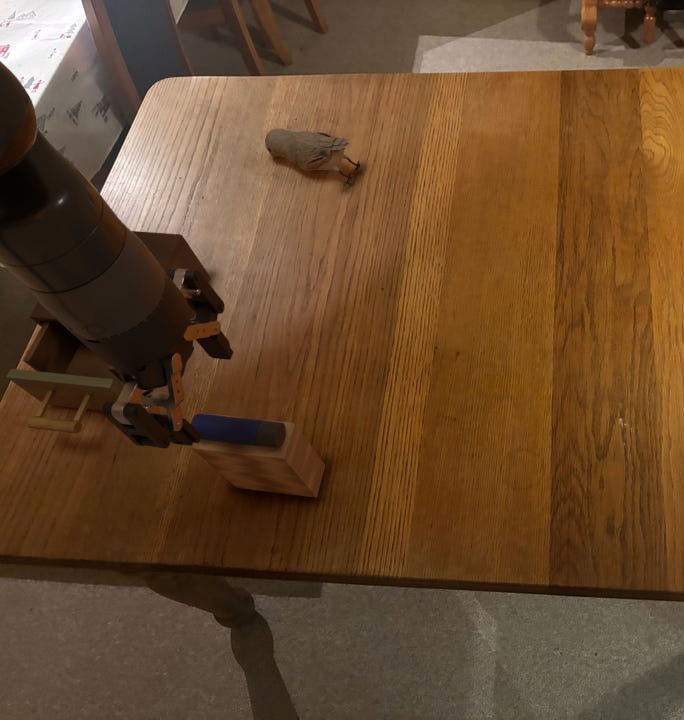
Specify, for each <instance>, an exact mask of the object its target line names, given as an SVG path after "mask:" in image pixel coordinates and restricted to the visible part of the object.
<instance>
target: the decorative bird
mask: <svg viewBox="0 0 684 720" xmlns="http://www.w3.org/2000/svg"><path fill="white" fill-rule="evenodd" d="M349 140H350V138H345V137H339V136H333V135H331V134H329V133H326V132H321V131H319V132H318V131H317V132H316V131H314V132H312V131H310V130H302V131H294V130H293V131H292V130H289V129H285V128H279V127H278V128H277V127H276V128H273V129H270V130H269V131H268V132H267V133H266V134H265V138H264V145H265V148H266V150H267V152H268V153H269V155H270V156H272V157H273V158H277V157H283V158H286V159H287V160H288V161H289V162H291V163H292V164H294V165H295V166H297V168H299V169H301V170H303V171H307V172H309V171H315V170H318V171H335V172H337V173H339V174H340V175H341V176H343V177H345V178H346V179H347V180H346V181H345V184H344V185H345V187H347V184H348V185H350V181H351V180H353V177H352V175H351V174H352V172H349V174H348V175H347V174H344V173H343V171H341V170H340V168H338V167H339V166H340V165H341V164H342V161H343V159H345V160H347V161H348V162H349V163H350V164H351V165H354V166H356V167H355V168H354V171H353V175H354V176H355V175H356V173H358V172H359V171H358V170H359V169H360V168H361V163H360V160H358V161H357V163H355V162H354V161H353V160H351V159H350V158H349V156H347V154H345V150H346V149H347V146H349V145H350V142H349Z"/></svg>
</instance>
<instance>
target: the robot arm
mask: <svg viewBox="0 0 684 720" xmlns="http://www.w3.org/2000/svg"><path fill="white" fill-rule="evenodd" d="M132 231H133V230H131V229H129V228H128V226H127V225H125V223H124V222H123V221H122V220H121V219H120V218H119V216H118V215H117V214H116V213H115V211H114V210H113V209H112V207H111V206H110V205H109V203H108V202H107V201H106V199H104V197H103V196H102V195H101V193H100V191H98V189H97V188H96V187H95V186H94V184H92V182H91V181H90V180H89V179H88V177H87V176H85V174H83V173H82V171H80V169H78V168H77V167H76V166H75V165H74V164H73V163H72V162H71V161H70V160H69V159H68V158H67V157H66V156H64V155H63V154H62V153H61V152H59V150H58V149H56V148H55V146H54V145H53V144H52V143H51V142H50V141H49V140H48V139H47V138H46V136H45V135H44V134H43V133H42V132H41V130H40V129H39V127H38V117H37V112H36V108H35V106H34V103H33V101H32V98H31V96H30V95H29V93H28V91H27V90H26V88H25V87H24V85H23V83H22V82H21V81H20V80H19V78H18V77H17V76H16V75H15V74H14V73H13V71H12V70H11V69H9V68H8V67H7V66H6V64H4V62H2V60H0V264H1V265H2V266H3V267H4V268H5V269H7V270H8V272H10V273H11V274H12V275H14V277H16V279H18V281H20V282H21V283H22V284H23V285H24V286H25V287H26V288H27V289H28V291H30V293H31V294H32V295H33V297H34V298H35V299H36V301H37V302H39V303H40V304H41V305H42V306H43V307H44V308H45V309H46V310H47V311H48V312H49V313H50V314H51V315H52V316H53V317H55V318H56V319H57V320H58V321H59V322H60V323H61V324H62V325H63V326H64V327H66V328H67V329H68V330H69V331H70V332H71V333H72V334H73V335H74V336H76V337H77V338H78V339H79V340H80V341H81V342H82V343H83V344H85V345H86V346H87V347H88V348H89V349H90V350H91V351H92V352H93V353H94V354H96V355H97V356H98V357H99V358H100V359H101V360H103V361H104V362H106V363H107V364H109V365H110V366H112V367H114V368H115V369H117V370H118V372H119V373H120V376H121V379H122V382H123V383H124V385H125V386H124V388H123V390H122V392H121V393H120V395H119V397H118V399H117V401H106V402H105V403H104V405H103V408H102V411H101V412H102V415H103V417H105V418H106V419H107V420H108V421H109V422H111V423H112V424H113V425H114V426H115V428H117V429H118V430H119V431H120V432H121V433H123V434H124V435H125V436H126V437H127V438H128V439H129V440H130V441H131V442H132V443H133V444H134V445H136V446H138V447H139V446H140V447H144V446H145V447H154V448H159V449H165V450H166V449H169V447H170V446H171V443H172V444H173V445H179V446H188V447H189V446H190V447H192V446H193V443H199V442H200V439H201V437H202V434H201V433H200V432H199V431H198V430H197V429H195V428H194V427H193V426H192V425H191V422H189V421H188V419H186V418H184V417H183V415H182V414H183V413H182V409H181V408H182V407H181V403H182V402H183V401H185V392H184V385H183V379H182V378H183V376H184V374H185V369H186V366H187V363H188V361H189V360H190V358H191V357H192V354H193V352H194V350H195V347H194V341H196V342H197V343H198V345H199V346H200V347H201V348H202V349H203V351H204V352H205V353H206V354H207V355H208V357H210V358H212V359H215V360H216V359H218V360H227V361H230V360H232V357H233V354H234V350H233V349H232V348H231V344H230V340H228V338H227V336H226V335H225V334H224V332H223V331H222V324H221V322H220V321H219V320H218V317H219V315H222V314H223V313H224V311H225V308H226V307H225V302H224V301H223V299H222V298H221V296H220V295H219V294H218V293H217V291H215V289H214V288H213V286H212V285H211V284H210V283H209V281H208V282H207V280H206V279H205V278H204V277H203V275H202V274H201V273H200V272H199V271H198V270H189V269H176V268H169V269H168V270H167V271H166V272H165V271H164V269H163V268H162V267H161V265H160V264H159V263H158V261H157V260H156V259H155V258H154V256H153V255H152V254H151V252H150V251H149V250H148V249H147V247H146V246H145V245H144V244H143V242H142V241H141V240H140V239H139V238H138V237H137V236H136V235H135V234H134V233H133V232H132ZM189 306H190V307H191V308H192V309H193V310H194V311H195V317H194V318H192V319H190V309H189ZM163 387H166V388H167V391H159V390H155V389H159V388H163ZM160 407H162V408H164V409H165V411H166V414H163V413H161V412H160Z"/></svg>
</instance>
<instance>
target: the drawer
mask: <svg viewBox="0 0 684 720" xmlns="http://www.w3.org/2000/svg"><path fill="white" fill-rule="evenodd" d="M22 361H23V362H24V363H25V364H27V365H28V366H29V367H30V368H32V369H33V370H27V369H18V368H10V369H9V370H8V371H9V372H8V373H7V374H6V379H8V380H9V381H10V382H12V383H13V384H15V385H16V386H18V388H19V387H20V388H21V389H22V390H24V391H25V392H26V393H28V394H29V395H30V396H32V397H33V398H35V399H36V400H38V401H39V402H40V406H39V407H38V410H37V411H36V413H35V416H34V415H33V416H30V417H29V418H28V420H27V422H26V425H27V427H28V428H30V429H34V430H43V431H52V432H53V431H54V432H61V433H70V434H79V433H81V431H82V430H83V423H82V421H83V419H84V416H85V414H86V412H87V411H88V410H92V411H99V412H102V408H103V405H104V403H105V402H106V401H117V399H118V397H119V395H120V393H121V392H122V390H123V388H124V386H125V385H124V383H123V382H122V379H121V376H120V373H119V372H118V370H117V369H115V368H114V367H112V366H110V365H109V364H107V363H106V362H104V361H103V360H101V359H100V358H99V357H98V356H97V355H96V354H94V353H93V352H92V351H91V350H90V349H89V348H88V347H87V346H86V345H85V344H83V343H82V342H81V341H80V340H79V339H78V338H77V337H76V336H74V335H73V334H72V333H71V332H70V331H69V330H68V329H67V328H66V327H64V326H63V325H62V324H61V323H60V322H50V321H45V322H44V324H43V326H42V327H41V326H40V329H39V330H38V333H37V334H36V336H35V338H34V339H33V341H32V343H31V345H30V347H29V349H28V350H27V352H26V353H25V355H24V357H23V359H22ZM49 406H55V407H56V406H57V407H64V408H72V409H77V412H76V413H75V415H74V418H73V420H69V419H60V418H52V417H44V416H45V415H46V412H47V410H48V408H49Z"/></svg>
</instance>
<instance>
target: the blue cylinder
mask: <svg viewBox="0 0 684 720" xmlns="http://www.w3.org/2000/svg"><path fill="white" fill-rule="evenodd" d="M209 414H210V413H196V414H195V415H194V416H193V417H192V419H191V422H190V424H191V425H192V426H193V427H194V428H195V429H197V430H198V431H199V432H200V433H201V434H202V437H201V440H210V441H219V442H228V443H237V444H245V445H254V446H263V447H272V448H280V447H281V446H282V445H283V443H284V440H285V435H286V428H285V425H284V423H282V422H283V421H280V422H274V421H275V420H271V421H265V420H266V419H261V420H256V419H257V418H252V419H246V418H247V417H243V418H237V417H238V416H233V417H228V416H229V415H224V416H218V415H219V414H215V415H209ZM263 420H264V421H263Z"/></svg>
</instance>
